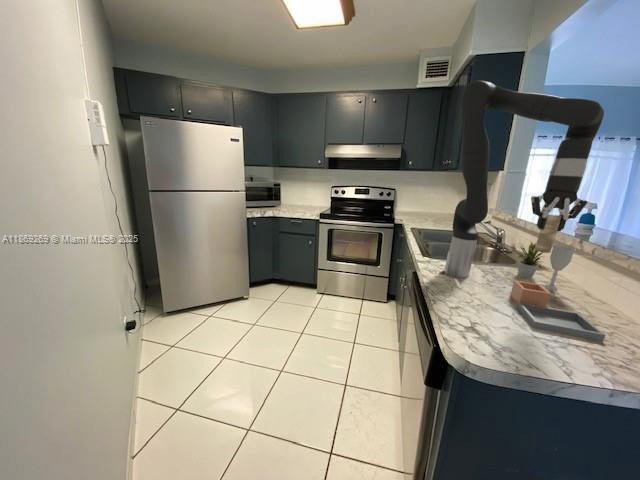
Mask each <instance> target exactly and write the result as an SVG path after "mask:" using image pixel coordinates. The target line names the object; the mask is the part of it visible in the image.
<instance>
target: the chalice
mask: <svg viewBox="0 0 640 480" xmlns="http://www.w3.org/2000/svg"><path fill="white" fill-rule="evenodd" d="M576 251H577V249H576V248H573V247H570V246H566V245H562V244H561V245H560V244H553V245H552V249H551V252H550V256H549V260H550V265H551V269H553V270H554V272H553V273H552V277H551V278H550V282H549V283H546V284H545V285H543V288H545V289H546V290H548V291H549V290H550V291H554V292H555V291H559V289H558V286H557V285H555V282H556V281H557V276H558V272H559V271H562V270H563V269H565V268H566V267H567V266H569V264H570V263H571V261H572V258H573V255H574V253H575V252H576Z"/></svg>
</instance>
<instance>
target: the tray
mask: <svg viewBox="0 0 640 480" xmlns="http://www.w3.org/2000/svg"><path fill="white" fill-rule="evenodd" d="M516 305H517V306H516V309H517V310H518V311H519V312H520V313H521V315H522V316H523V318H524V319H525V320H526V321H527V322H528V323H529V325H530V326H531V327H532V328H534V329H537V330H543V331H548V332H554V333H556V334H557V333H558V334H563V335H567V336H572V337H577V338H583V339H587V340H591V341H592V340H593V341H598V342H604V340H605V337H606V334H605V333H604V332H603V331H601V330H600V329H599V328H598V327H597V326H595V325H594V324H593V323H592V322H591V321H589V320H588V319H587V318H585V316H583V315H582V314H581V313H579V312H577V311H572V310H571V311H570V310H564V309H559V308H553V307H547V306H546V307H543V306H537V305H531V304H526V303H520V302H518V304H516Z"/></svg>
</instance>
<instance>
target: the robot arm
mask: <svg viewBox="0 0 640 480" xmlns="http://www.w3.org/2000/svg"><path fill="white" fill-rule="evenodd" d="M460 100H461V101H460V102H461V103H460V104H461V118H462V119H461V120H462V134H461V154H460V156H461V157H460V161H461V162H460V168H461V173H462V175H463V179H464V182H465V183H464V184H465V185H466V186H465V187H466V197H465V198H464V199H462V200H460V201H458V204H457V205H456V207H455V209H454V214H453V220H452V231H453V232H452V237H451V244H450V247H449V250H448V251H447V257H446V260H445V266H444V270H443V271H444V274H445V276H446V277H451V278H453V279H458V278H463V279H466V278H469V277H470V275H471V274H470V273H471V272H470V271H471V269H472V264H473V261H474V256H475V252H476V246H477V242H478V240H479V239H478V238H479V232H478V230H477V228H476V225H477V224H480V223H482V222H483V221H484V220H485V219H486V217H487V215H488V212H489V201H488V179H489V162H490V148H491V147H490V140H489V137H488V133H487V130H486V127H485V111H499V112H500V111H501V112H507V113H510V114H513V115H516V116H519V117H522V118H526V119H529V120H535V121H539V122H543V123H544V122H545V123H551V122H552V123H556V124H560V125H565V126H568V127H567V131H566V133H565V136H564V139H563V140H562V141H561V142H560V144H559V146H558V149H557V153H556V156H555V159H554V162H553V163H552V166H551V169H550V171H549V175H548V180H547V181H546V187H545V189H544V190H545V191H544V192H543V193H542V194H541V195H537V196H535V195H532V196H531V197H530V201H531V209H532V211H531V212H532V214H533V215H535V216H537V217H538V219H537V222H536V227H537V229H538V230H541V229H542V230H543V229H544V226H545V223H546V219H547V218H546V217H547V215H548V214H550V213H551V212H552V211H553V209H558V215H560V216H562V217H561V220H560V224H559V227H558V230H557V232H561V231H562V230H564V229H565V226H566V223H567V221H568V220H570V219H576V218H578V217H577V216H579V214H580V213H581V212H582V210H583V209H584V208H585V207H586V205H588V200H585V199H581V198H578V192H579V191H580V190H579V189H580V187H581V184H582V181H583V179H584V178H583V177H584V176H585V175H584V174H585V172H586V169H587V163H588V159H589V157H590V156H589V155H590V152H591V149H592V146H593V142H594V139H595V137H597V135H598V131H599V129H600V127H601V125H602V122H603V119H604V114H605V110H604V108H603V107H602V105H601V103H600V102H598V101H596V100H593V99H588V98H578V97H576V98H575V97H561V96H557V95H551V94H545V93H544V94H543V93H536V92H521V91H515V90H511V89H507V88H504V87H501V86H498V85H496V84H495V83H494V84H493V83H492V82H490V81H485V80H472V81H471V82H469V83H468V84H467V85H466V86H465V87H464V90H463V91H462V95H461V99H460ZM542 201H543V202H544V205H542V207H541V202H542ZM572 204H573V206H572V208H571V209H570V205H572Z"/></svg>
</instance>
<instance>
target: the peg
mask: <svg viewBox="0 0 640 480" xmlns="http://www.w3.org/2000/svg"><path fill="white" fill-rule="evenodd" d="M561 217H562V216H560V215H559V214H554V213H553V214H552V213H549V214H548V215H547V217H546V218H547V219H546V223H545V226H544V229H543V230H542V229H539V230H540V231H539V232H538V237H537V240H536V246H535V249H534V251H535V250H536V251H538V253H542V252H544V253H543V254H545V253H546V254H551V253H552V249H553V247H552V245H554V242H555V239H556V236H557V233H558V231H557V230H558V227H559V224H560V220H561Z"/></svg>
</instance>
